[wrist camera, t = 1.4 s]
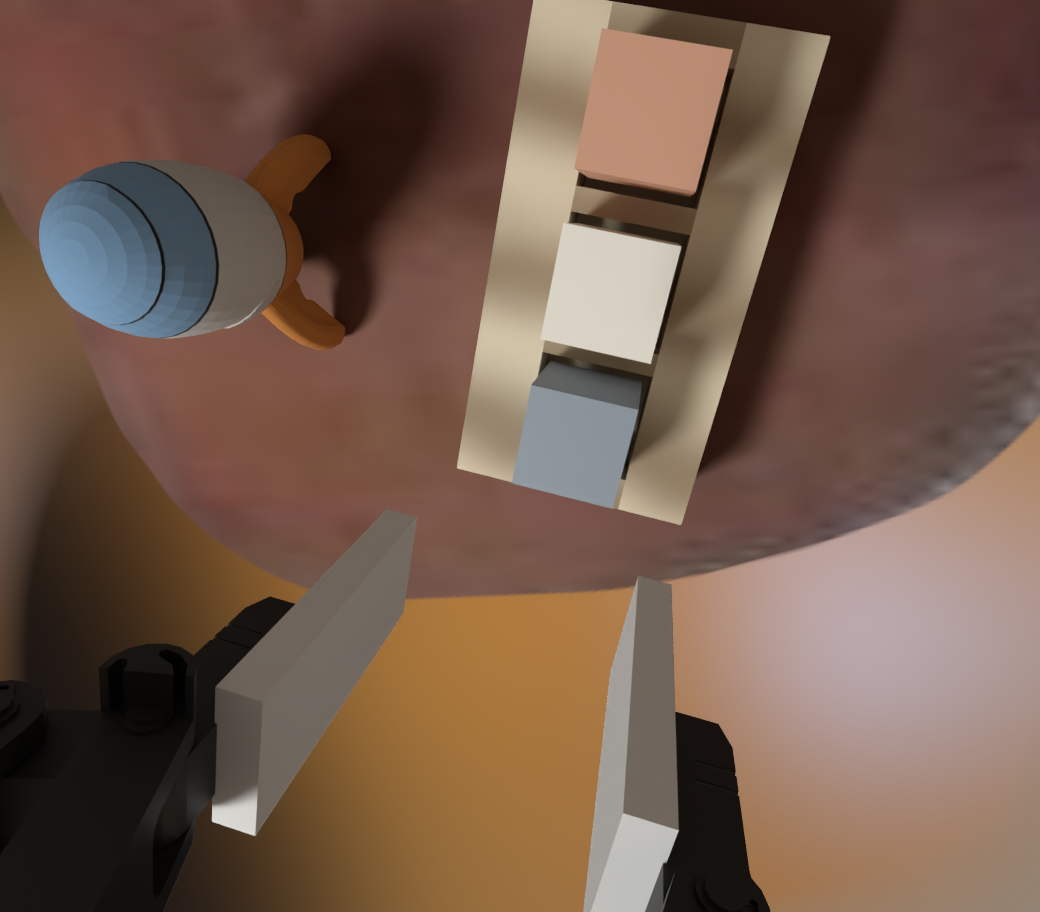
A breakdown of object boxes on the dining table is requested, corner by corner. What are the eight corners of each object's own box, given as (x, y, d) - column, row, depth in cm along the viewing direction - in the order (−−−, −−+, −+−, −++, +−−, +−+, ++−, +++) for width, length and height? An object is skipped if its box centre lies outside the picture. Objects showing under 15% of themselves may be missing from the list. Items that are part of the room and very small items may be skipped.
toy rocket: (389, 337, 37) (176, 451, 25) (238, 316, 41) (-15, 407, 28) (371, 133, 32) (97, 149, 20) (202, 129, 36) (-122, 140, 24)
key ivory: (579, 223, 28) (563, 222, 24) (677, 243, 28) (681, 246, 23) (559, 321, 30) (540, 339, 25) (652, 341, 29) (650, 363, 24)
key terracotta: (612, 63, 26) (602, 28, 21) (719, 81, 25) (733, 49, 21) (588, 177, 27) (574, 168, 23) (689, 197, 27) (696, 191, 22)
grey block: (551, 360, 30) (531, 384, 26) (642, 381, 30) (638, 410, 25) (533, 445, 32) (511, 483, 27) (619, 466, 31) (612, 508, 27)
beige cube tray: (554, 25, 30) (535, -11, 25) (803, 66, 29) (830, 36, 24) (482, 437, 37) (456, 468, 32) (678, 486, 36) (681, 525, 31)
